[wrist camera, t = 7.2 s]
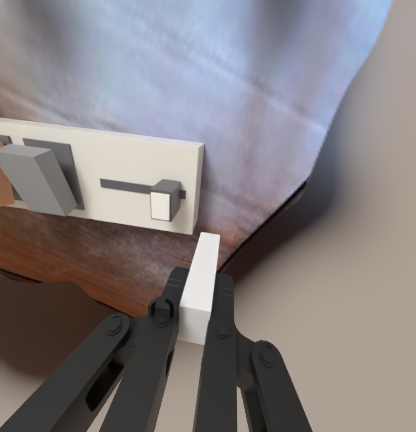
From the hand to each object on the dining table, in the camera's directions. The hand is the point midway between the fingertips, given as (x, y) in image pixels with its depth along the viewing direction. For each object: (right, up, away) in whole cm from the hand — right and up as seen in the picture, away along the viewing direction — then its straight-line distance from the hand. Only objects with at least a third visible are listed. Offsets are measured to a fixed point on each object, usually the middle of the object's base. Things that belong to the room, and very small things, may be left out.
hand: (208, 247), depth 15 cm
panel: (-16, +10, +14) cm, 23 cm away
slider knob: (-5, +6, +9) cm, 12 cm away
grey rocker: (-21, +7, +8) cm, 23 cm away
